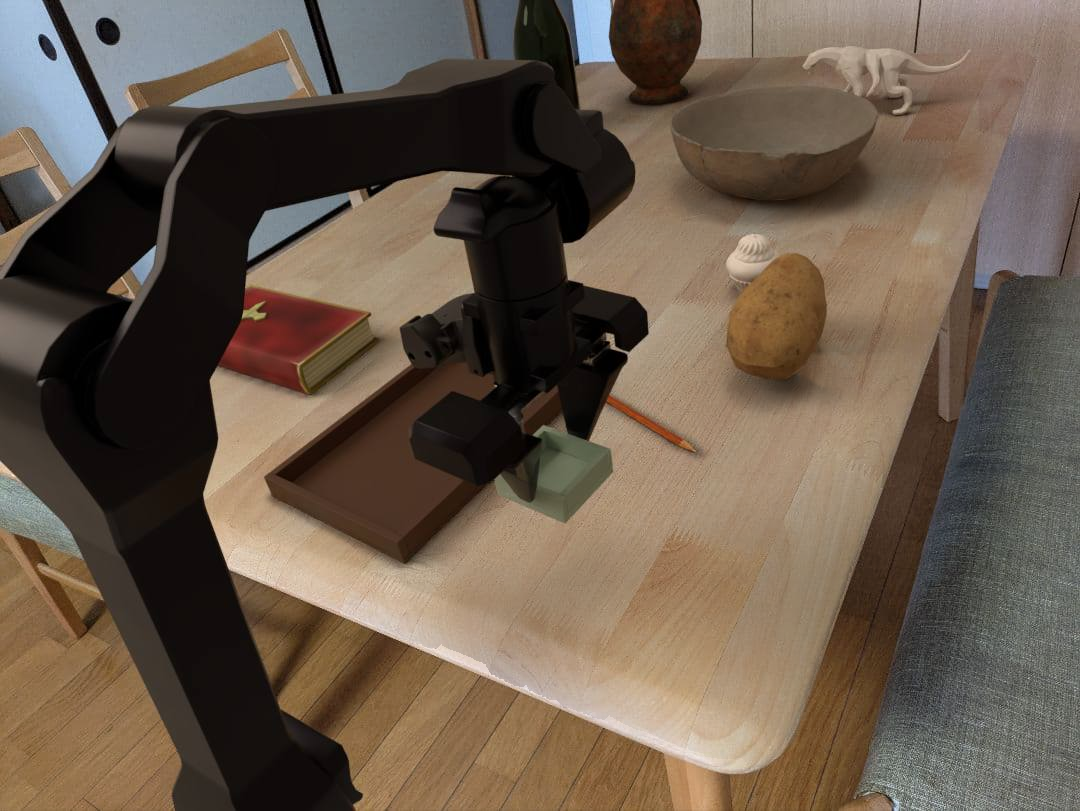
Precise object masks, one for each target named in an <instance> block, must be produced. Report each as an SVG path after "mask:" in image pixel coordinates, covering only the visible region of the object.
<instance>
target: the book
mask: <svg viewBox="0 0 1080 811" xmlns="http://www.w3.org/2000/svg"><path fill="white" fill-rule="evenodd" d="M370 317H372V312H371V311H367V310H362V309H359V308H354V307H350V306H345V305H342V304H341V305H340V304H337V303H332V302H327V301H324V300H318V299H315V298H310V297H306V296H301V295H297V294H292V293H288V292H283V291H279V290H275V289H271V288H266V287H262V286H259V285H258V286H257V285H253V284H250V285H249V286H246V287H245V298H244V310H243V316H242V319H241V322H240V325H239V326H238V328H237V330H236V332H235V334H234V336H233V338H232V340H231V341H230V343H229V345H228V347H227V349H226V351H225V353H224V354H223V356H222V358H221V360H220V362H219V364H218V366H217V367H220V368H224V369H227V370H230V371H234V372H236V373H240V374H242V375H246V376H249V377H253V378H256V379H259V380H262V381H266V382H269V383H272V384H276V385H278V386H282V387H285V388H288V389H291V390H294V391H298V392H301V393H304V394H307V395H310V396H311V395H313V394H314V393H315V392H316V391H317V390H319V389H320V388H322V387H323V386H324V385H325V384H327V383H328V382H329V381H330V380H331V379H333V378H334V377H335V376H337V375H338V374H340V373H341V372H342V371H343V370H344V369H345V368H347V367H348V366H350V365H351V364H352V363H353V362H354V361H356V360H357V359H358V358H360V357H361V356H362V355H363V354H364V353H366V352H367V351H369V349H371V348H372V347H373V346H375V345H376V344H377V343H378V342H380V338H379V337H377V336H374V334H373V332H372V328H371V325H370V321H369V318H370Z"/></svg>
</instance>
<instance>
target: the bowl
mask: <svg viewBox="0 0 1080 811" xmlns="http://www.w3.org/2000/svg"><path fill="white" fill-rule="evenodd" d="M878 118H879V116H878V109H877V107H876V106H875V104H874V103H873V102H871V101H870V100H868V99H866V98H864V97H862V96H861V97H860V96H857V95H855V94H854V93H852V92H850V93H849V92H846V91H842V89H839V88H831V87H822V86H811V85H809V86H807V85H778V86H775V85H774V86H763V87H762V86H759V87H753V88H745V89H738V90H732V91H728V92H723V93H719V94H713V95H711V96H706V97H703V98H701V99H700V98H699V99H697V100H694V101H692V102H690V103H688V104H686V105H684V106H683V107H680V108H678V109H677V111H676V112H674V114H673V115H672V116H671V118H670V120H669V128H670V131H671V138H672V141H673V143H674V148H675V151H676V153H677V156H678V158H679V160H680V162H681V163H682V165H683V167H684V169H685V170H686V172H687V173H688V174H689V175H691V177H692V178H694V179H695V180H696V181H698V182H699V183H701V184H703V185H705V186H707V187H709V188H711V189H713V190H715V191H717V192H720V193H723V194H727V195H730V196H734V197H739V198H744V199H745V198H746V199H752V200H758V201H759V200H760V201H783V200H785V201H786V200H791V199H797V198H801V197H805V196H809V195H813V194H815V193H818V192H820V191H822V190H824V189H826V188H828V187H830V186H832V185H833V184H834V183H836V182H837V181H838V180H839V179H840V178H842V177H843V176H844V175H845V174H846V173H847V172H848V171H849V170H850V169H851V167H853V165H854V164H855V162H856V161H857V159H858V158H859V156H860V155H861V154H862V152H863V151H864V149H865V148H866V147H867V145H868V143H869V141H870V139H871V138H872V136H873V134H874V131H875V128H876V125H877V122H878Z"/></svg>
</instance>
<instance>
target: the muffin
mask: <svg viewBox="0 0 1080 811" xmlns="http://www.w3.org/2000/svg"><path fill="white" fill-rule="evenodd" d="M780 256H781V255H780V253H779V252H778V251H776V250H775V249H774V248H773V247H772V246H771V241H770V239H769V238H768V237H767V236H766V235H763V234H759V233H758V234H757V233H754V234H753V233H751V234H747V235H746V236H742V238H741V239H739V241H738V244H737V247H736V248H735V250H734V251H733V252H731V254H729V255H728V258H727V260H726V262H725V268H726V270H727V272H728V275H729V278H730V280H731V281H732V283H733V284H734V286H735V287H736V289H737V291H738V292H739V294H741V293H742V292H743V291H744V290H745V289H746V288H747V287H748V286H749V285H750V284H751V283H752V282H753V281H754V280H755V279H756V278H757V277H758V276H759V275H760V274H761V272H762V271H763V270H764V269H765V268H766V267H767V266H768V265H769V264H770V263H771V262H772V261H773V260H774V259H776V258H778V257H780Z"/></svg>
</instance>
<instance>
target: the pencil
mask: <svg viewBox="0 0 1080 811" xmlns="http://www.w3.org/2000/svg"><path fill="white" fill-rule="evenodd" d="M606 403H608V404H609V405H611V406H613V407H614V408H616V409H618V410H619V411H621V412H622V413H624V414H626V415H627V416H629V417H631V418H632V419H634V420H635V421H637V422H639V423H640V424H642V425H644V426H646V427H647V428H649V429H650V430H652V431H654V432H655V433H657V434H658V435H660V436H662V437H663V438H664V439H667V440H668V441H670V442H671V443H673V444H675V445H676V446H678V447H680V448H682V449H684V450H688V451H691V452H695V453H697V451H696V449H694V447H692V446H691V445H690V444H689V443H688V442H687V441H686V440H685V439H684V438H682V437H681V436H679V435H677V434H675V433H674V432H672V431H670V429H669V430H668V429H667V428H665V427H664V426H662V425H660V424H659V423H657V422H656V421H654V420H652V419H650V418H649V417H647V416H645V415H643V414H642V413H641V412H639V411H637V410H635V409H634V408H632V407H630V406H628V404H625V403H624V402H622V401H621V400H618V399H617V398H615V397H614V396H613V395H610V394H609V397H608V399H607V401H606Z"/></svg>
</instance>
